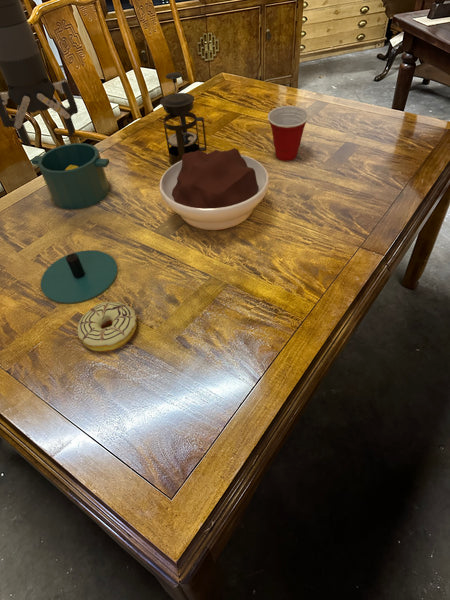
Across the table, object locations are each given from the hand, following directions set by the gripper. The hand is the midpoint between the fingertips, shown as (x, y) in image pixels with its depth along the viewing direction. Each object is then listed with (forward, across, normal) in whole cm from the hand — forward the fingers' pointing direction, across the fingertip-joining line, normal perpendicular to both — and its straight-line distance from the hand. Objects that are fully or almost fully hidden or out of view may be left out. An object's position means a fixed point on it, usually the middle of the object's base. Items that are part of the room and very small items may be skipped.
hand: (50, 139), depth 86 cm
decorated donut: (+22, -1, +37) cm, 43 cm away
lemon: (+21, -1, -14) cm, 25 cm away
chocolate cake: (+22, -31, +9) cm, 39 cm away
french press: (+22, -32, -19) cm, 43 cm away
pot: (+21, -1, -14) cm, 26 cm away
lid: (+21, +2, +20) cm, 29 cm away
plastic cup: (+22, -58, -9) cm, 63 cm away
